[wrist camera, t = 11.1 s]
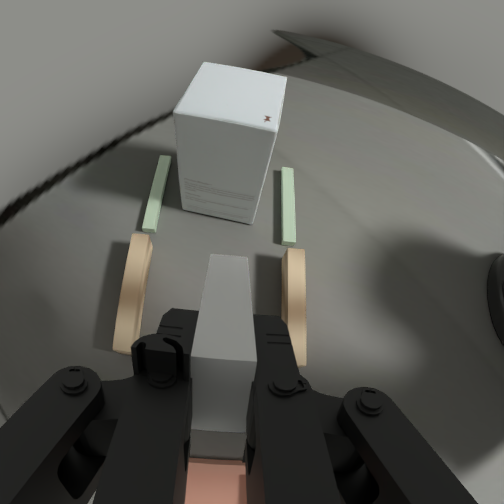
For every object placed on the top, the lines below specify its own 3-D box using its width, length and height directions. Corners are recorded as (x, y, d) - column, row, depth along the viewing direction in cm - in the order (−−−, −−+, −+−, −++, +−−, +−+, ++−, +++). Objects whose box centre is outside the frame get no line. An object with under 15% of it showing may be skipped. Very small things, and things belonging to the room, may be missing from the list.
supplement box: (265, 170, 35) (291, 76, 23) (252, 227, 31) (279, 133, 20) (200, 155, 34) (203, 59, 23) (179, 210, 31) (170, 111, 20)
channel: (137, 246, 29) (132, 233, 27) (297, 260, 30) (304, 249, 28) (120, 353, 25) (112, 349, 22) (297, 368, 26) (306, 365, 24)
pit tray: (142, 451, 21) (137, 455, 19) (265, 460, 22) (269, 465, 21) (142, 526, 18) (138, 535, 16) (261, 534, 19) (265, 543, 17)
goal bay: (160, 160, 33) (160, 155, 33) (291, 173, 35) (293, 168, 34) (143, 232, 30) (142, 227, 29) (293, 246, 31) (295, 242, 30)
